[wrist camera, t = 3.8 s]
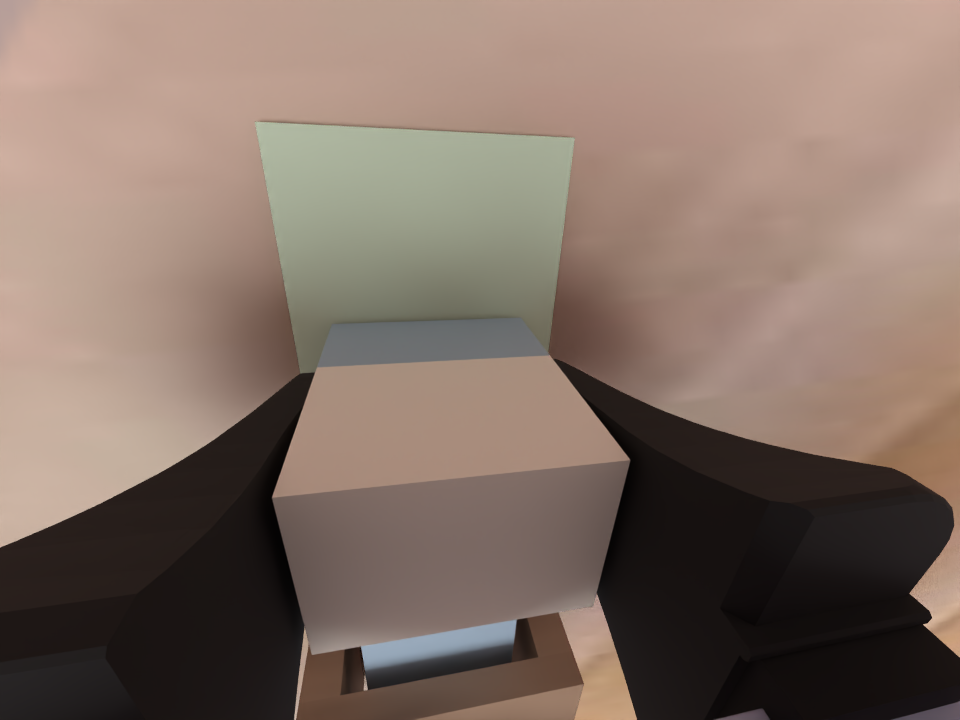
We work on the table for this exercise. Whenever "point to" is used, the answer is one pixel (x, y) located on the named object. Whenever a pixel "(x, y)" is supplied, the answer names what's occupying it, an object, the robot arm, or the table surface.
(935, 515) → the robot arm
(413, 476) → the block
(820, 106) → the table surface
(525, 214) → the mat
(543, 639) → the tunnel
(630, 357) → the table surface
